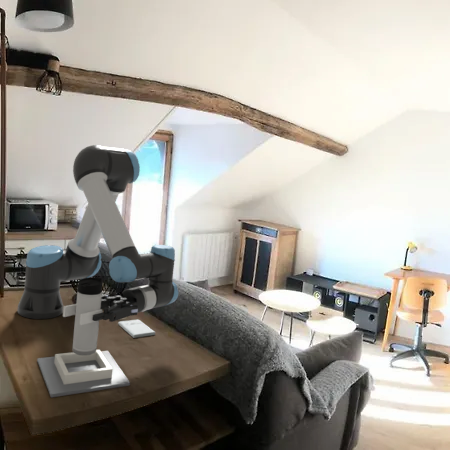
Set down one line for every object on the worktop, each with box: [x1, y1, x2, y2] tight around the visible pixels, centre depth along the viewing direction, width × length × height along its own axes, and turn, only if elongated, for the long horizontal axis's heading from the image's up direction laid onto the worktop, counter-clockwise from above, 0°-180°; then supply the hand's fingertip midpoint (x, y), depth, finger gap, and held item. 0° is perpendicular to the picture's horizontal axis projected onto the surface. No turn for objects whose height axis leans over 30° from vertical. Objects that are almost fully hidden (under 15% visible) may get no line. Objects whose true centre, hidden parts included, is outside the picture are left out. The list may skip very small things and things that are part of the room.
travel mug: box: [71, 276, 104, 355], centre depth 121 cm, size 6×7×20 cm
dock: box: [36, 349, 131, 398], centre depth 123 cm, size 20×20×3 cm
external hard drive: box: [117, 319, 156, 339], centre depth 158 cm, size 2×8×12 cm
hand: (72, 315), depth 117 cm, fingers closed on travel mug, 6 cm apart
